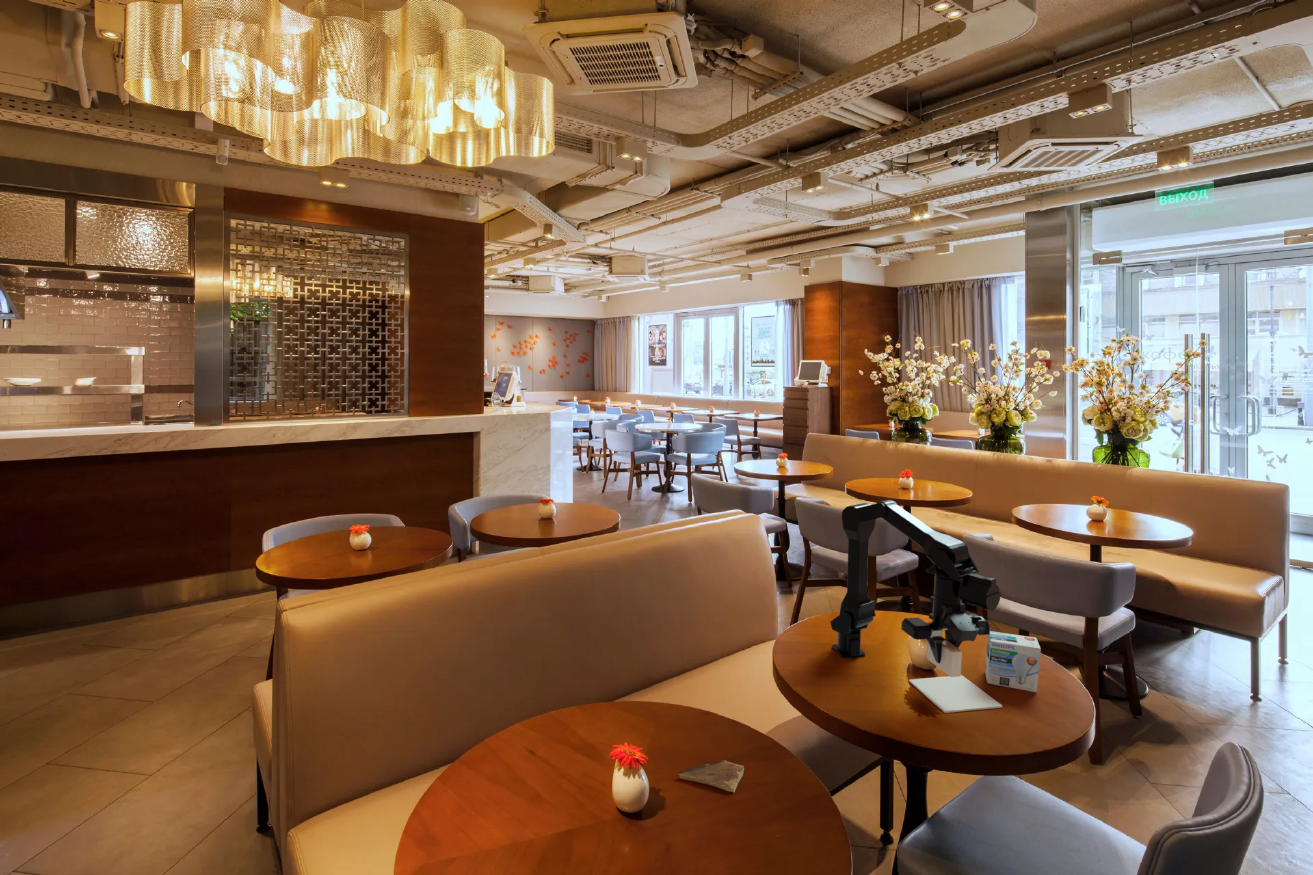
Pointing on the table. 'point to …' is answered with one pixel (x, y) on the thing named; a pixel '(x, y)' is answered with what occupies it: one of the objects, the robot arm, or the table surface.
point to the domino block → (948, 659)
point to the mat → (954, 694)
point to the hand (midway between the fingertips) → (943, 661)
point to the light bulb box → (1012, 661)
